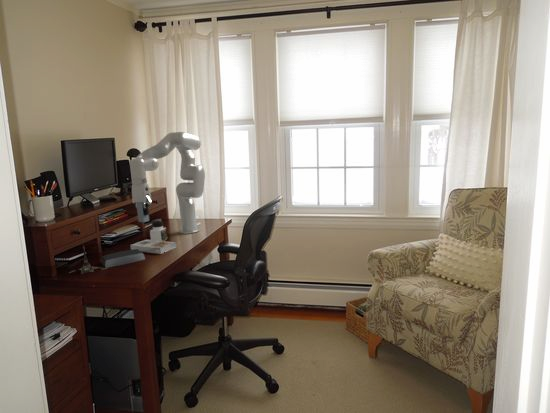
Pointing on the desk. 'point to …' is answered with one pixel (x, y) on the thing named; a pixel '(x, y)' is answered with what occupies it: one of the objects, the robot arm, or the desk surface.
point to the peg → (141, 213)
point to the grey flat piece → (153, 246)
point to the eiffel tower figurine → (87, 266)
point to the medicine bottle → (158, 231)
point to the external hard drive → (122, 258)
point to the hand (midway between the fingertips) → (143, 214)
